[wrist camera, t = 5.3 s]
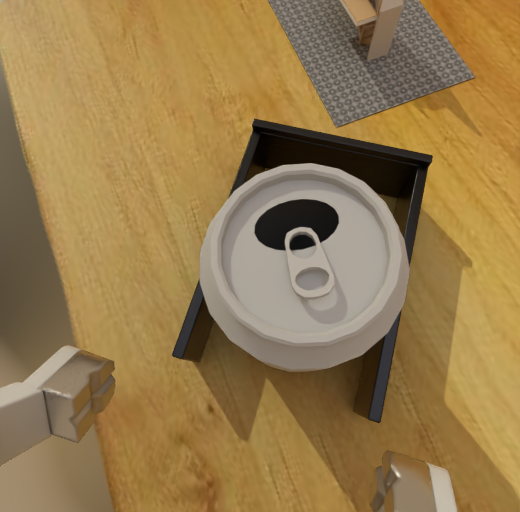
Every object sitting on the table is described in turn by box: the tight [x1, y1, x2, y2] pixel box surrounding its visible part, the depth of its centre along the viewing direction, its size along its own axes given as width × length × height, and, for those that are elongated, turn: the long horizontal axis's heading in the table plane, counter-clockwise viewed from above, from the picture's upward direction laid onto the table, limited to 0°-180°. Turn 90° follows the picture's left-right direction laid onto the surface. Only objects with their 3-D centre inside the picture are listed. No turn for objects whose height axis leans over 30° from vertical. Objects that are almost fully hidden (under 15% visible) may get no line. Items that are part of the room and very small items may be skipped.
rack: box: [172, 119, 433, 423], centre depth 21 cm, size 15×11×4 cm
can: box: [200, 163, 410, 372], centre depth 17 cm, size 8×8×12 cm
